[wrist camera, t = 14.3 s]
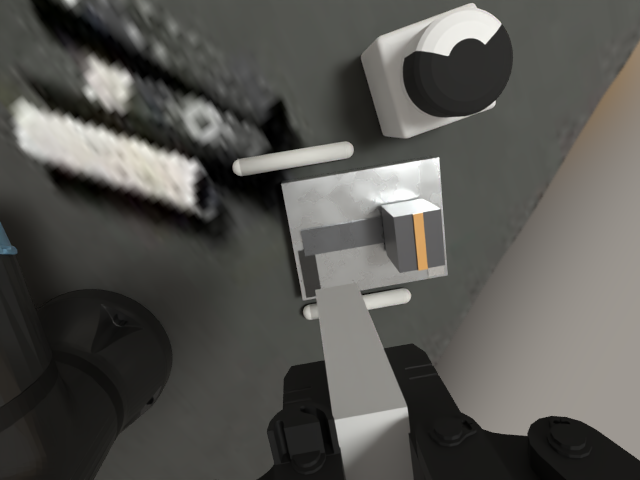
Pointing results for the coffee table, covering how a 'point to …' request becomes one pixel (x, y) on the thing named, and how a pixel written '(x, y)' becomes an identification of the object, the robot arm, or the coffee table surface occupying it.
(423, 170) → the panel
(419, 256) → the toggle
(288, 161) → the cord near
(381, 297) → the rod
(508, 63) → the container
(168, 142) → the coffee table surface
